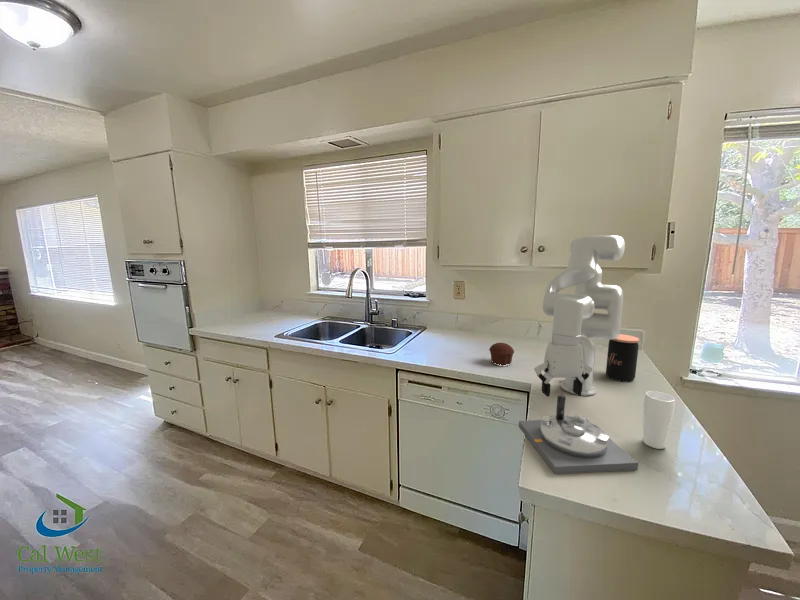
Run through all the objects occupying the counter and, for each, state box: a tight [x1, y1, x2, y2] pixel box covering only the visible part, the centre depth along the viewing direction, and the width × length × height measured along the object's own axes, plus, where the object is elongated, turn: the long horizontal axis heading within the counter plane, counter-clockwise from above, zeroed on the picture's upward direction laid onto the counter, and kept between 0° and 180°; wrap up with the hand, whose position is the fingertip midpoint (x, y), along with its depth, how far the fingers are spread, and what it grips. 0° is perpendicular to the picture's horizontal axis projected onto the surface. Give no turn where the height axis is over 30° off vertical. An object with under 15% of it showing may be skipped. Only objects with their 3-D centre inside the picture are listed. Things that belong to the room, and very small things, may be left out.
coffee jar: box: [605, 333, 640, 382], centre depth 141 cm, size 11×11×18 cm
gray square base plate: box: [518, 418, 639, 475], centre depth 95 cm, size 22×22×2 cm
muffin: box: [488, 342, 515, 365], centre depth 160 cm, size 12×11×10 cm
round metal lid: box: [540, 394, 610, 457], centre depth 94 cm, size 17×17×10 cm
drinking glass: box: [642, 390, 676, 450], centre depth 94 cm, size 7×7×15 cm
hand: (561, 394), depth 99 cm, fingers open, 9 cm apart
